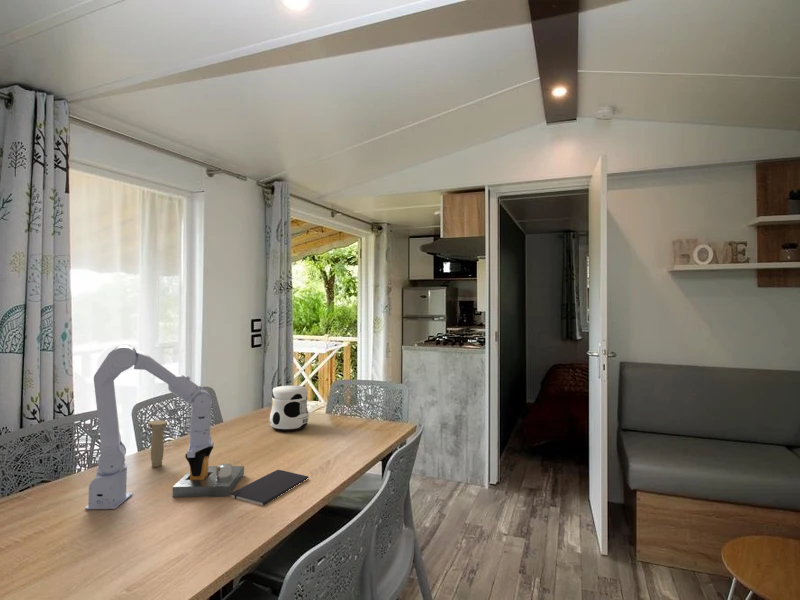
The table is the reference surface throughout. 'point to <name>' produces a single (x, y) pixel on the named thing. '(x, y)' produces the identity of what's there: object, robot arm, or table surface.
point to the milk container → (289, 408)
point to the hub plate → (210, 482)
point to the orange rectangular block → (203, 472)
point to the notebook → (268, 487)
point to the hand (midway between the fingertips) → (199, 473)
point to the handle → (157, 441)
